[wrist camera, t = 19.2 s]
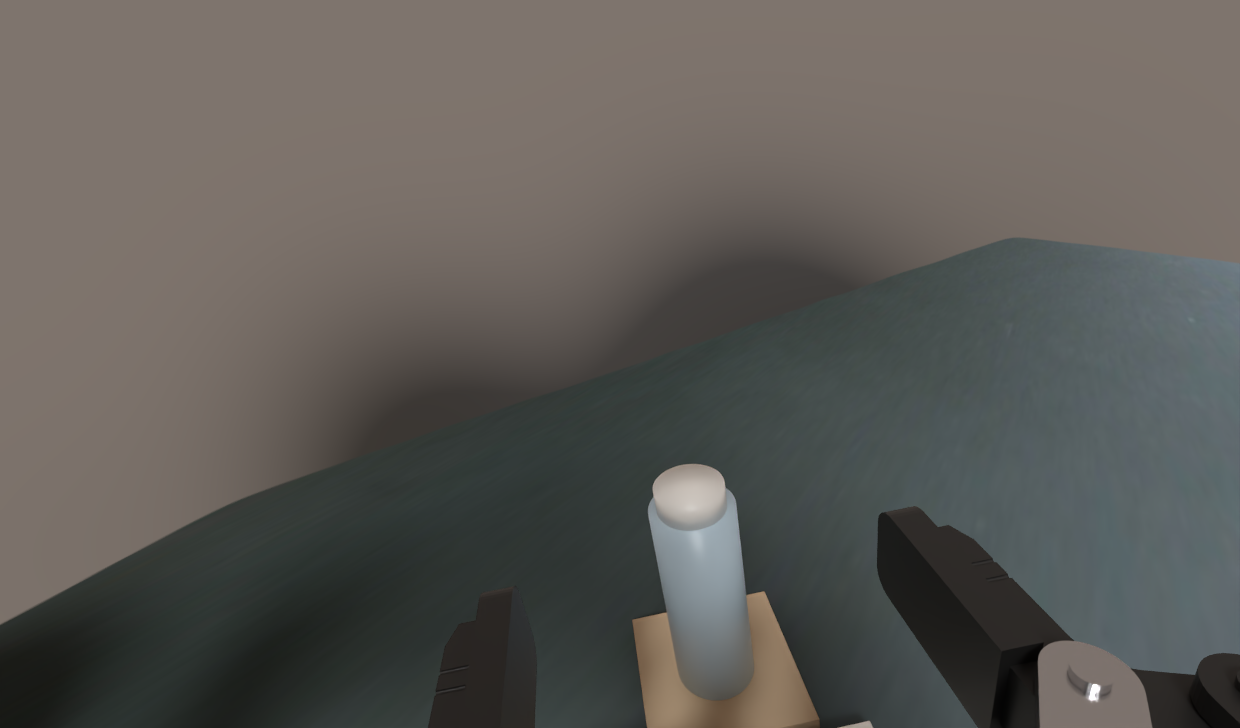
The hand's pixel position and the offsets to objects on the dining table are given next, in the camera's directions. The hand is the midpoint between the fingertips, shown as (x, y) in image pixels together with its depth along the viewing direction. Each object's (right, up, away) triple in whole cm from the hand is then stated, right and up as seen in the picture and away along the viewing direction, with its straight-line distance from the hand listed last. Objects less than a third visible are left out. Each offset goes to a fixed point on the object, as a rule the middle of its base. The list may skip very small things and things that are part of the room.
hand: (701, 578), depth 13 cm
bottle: (+4, -15, +25) cm, 30 cm away
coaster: (+5, -16, +26) cm, 31 cm away
